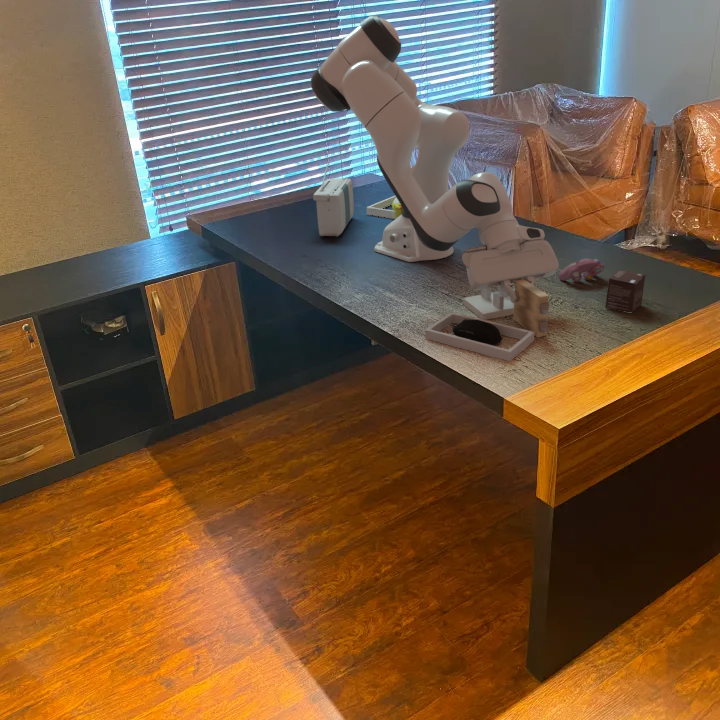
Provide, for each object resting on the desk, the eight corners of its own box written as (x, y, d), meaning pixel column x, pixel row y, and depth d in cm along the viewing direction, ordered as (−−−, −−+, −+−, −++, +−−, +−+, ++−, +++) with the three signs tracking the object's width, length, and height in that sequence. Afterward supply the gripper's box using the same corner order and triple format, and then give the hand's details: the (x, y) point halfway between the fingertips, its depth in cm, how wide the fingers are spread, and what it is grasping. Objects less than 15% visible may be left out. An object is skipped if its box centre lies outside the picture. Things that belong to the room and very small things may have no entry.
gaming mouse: (457, 321, 156) (458, 304, 155) (508, 342, 146) (509, 325, 144) (436, 329, 153) (436, 312, 151) (486, 352, 143) (487, 334, 141)
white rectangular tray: (366, 214, 233) (366, 207, 232) (402, 199, 247) (402, 192, 246) (432, 225, 219) (432, 217, 217) (466, 208, 233) (466, 201, 232)
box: (615, 299, 161) (619, 269, 158) (641, 305, 158) (646, 274, 154) (604, 308, 157) (608, 277, 154) (631, 314, 154) (635, 283, 150)
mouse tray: (425, 338, 149) (424, 329, 148) (451, 320, 156) (451, 312, 155) (509, 361, 138) (510, 352, 137) (533, 340, 145) (534, 332, 144)
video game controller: (563, 290, 172) (572, 270, 166) (555, 276, 174) (564, 256, 169) (599, 284, 174) (610, 264, 168) (591, 270, 176) (601, 250, 171)
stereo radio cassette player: (342, 238, 213) (337, 171, 203) (315, 238, 214) (310, 171, 205) (355, 218, 231) (351, 155, 221) (330, 218, 232) (325, 156, 223)
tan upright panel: (513, 319, 155) (515, 280, 150) (521, 317, 155) (523, 279, 151) (540, 339, 145) (543, 299, 141) (548, 337, 146) (552, 297, 141)
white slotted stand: (463, 303, 164) (463, 285, 162) (517, 293, 167) (517, 275, 165) (483, 320, 155) (483, 301, 153) (539, 309, 159) (540, 290, 157)
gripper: (464, 242, 149) (484, 302, 145) (549, 228, 154) (571, 285, 150) (455, 256, 155) (474, 314, 151) (537, 242, 160) (558, 297, 156)
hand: (523, 299), depth 151 cm, fingers closed on tan upright panel, 2 cm apart
